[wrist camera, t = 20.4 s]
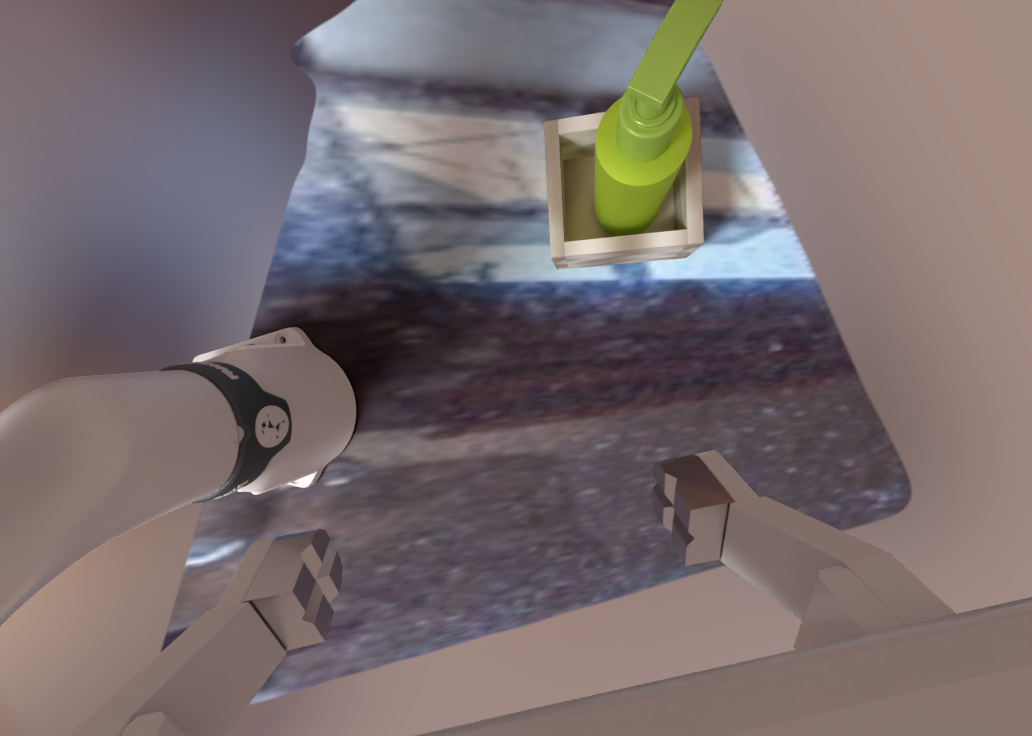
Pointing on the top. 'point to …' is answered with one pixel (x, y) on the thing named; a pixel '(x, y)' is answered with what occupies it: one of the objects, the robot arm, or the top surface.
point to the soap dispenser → (648, 125)
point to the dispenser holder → (574, 201)
